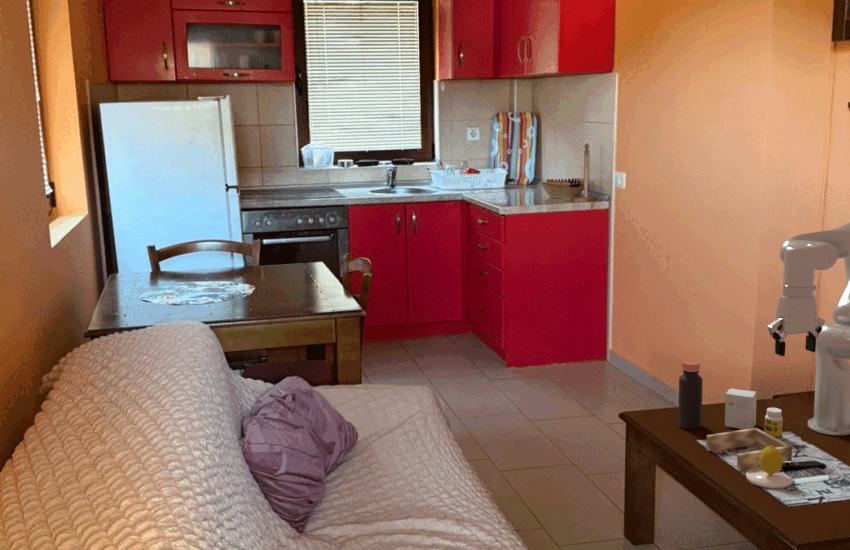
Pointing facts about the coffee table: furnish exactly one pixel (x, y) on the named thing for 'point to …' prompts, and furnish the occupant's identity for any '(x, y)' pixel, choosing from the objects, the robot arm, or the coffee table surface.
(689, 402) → the vinegar
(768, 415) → the supplement bottle
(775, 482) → the saucer
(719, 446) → the pine box
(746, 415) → the small box
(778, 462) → the lemon
